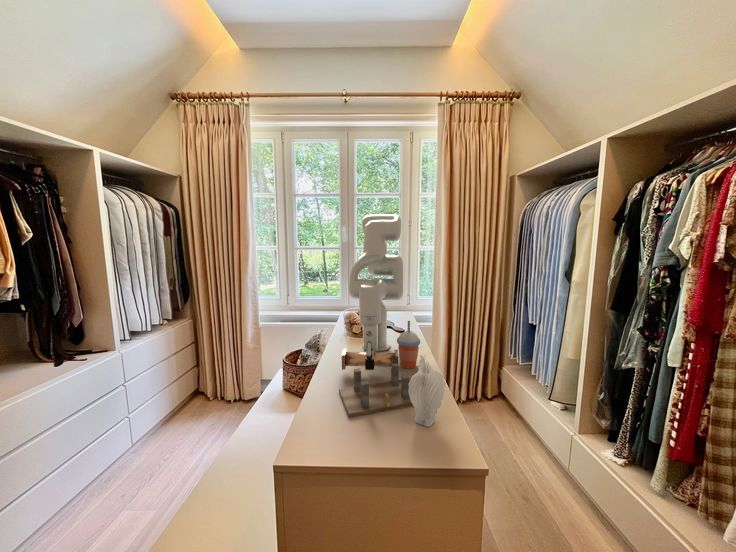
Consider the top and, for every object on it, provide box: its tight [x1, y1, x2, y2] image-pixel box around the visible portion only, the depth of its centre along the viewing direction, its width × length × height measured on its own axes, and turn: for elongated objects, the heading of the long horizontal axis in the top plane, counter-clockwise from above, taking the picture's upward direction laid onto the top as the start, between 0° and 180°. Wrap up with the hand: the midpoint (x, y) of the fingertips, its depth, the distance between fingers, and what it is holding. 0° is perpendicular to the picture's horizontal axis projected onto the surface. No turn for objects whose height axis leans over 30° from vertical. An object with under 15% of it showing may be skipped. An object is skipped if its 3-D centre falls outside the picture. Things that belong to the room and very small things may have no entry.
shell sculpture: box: [408, 354, 446, 427], centre depth 80 cm, size 8×8×18 cm
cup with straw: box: [396, 320, 421, 369], centre depth 115 cm, size 9×9×18 cm
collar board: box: [338, 363, 414, 418], centre depth 93 cm, size 14×24×8 cm, turn 107°
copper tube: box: [341, 348, 399, 370], centre depth 108 cm, size 20×6×6 cm, turn 87°
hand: (370, 365), depth 109 cm, fingers closed on copper tube, 5 cm apart
